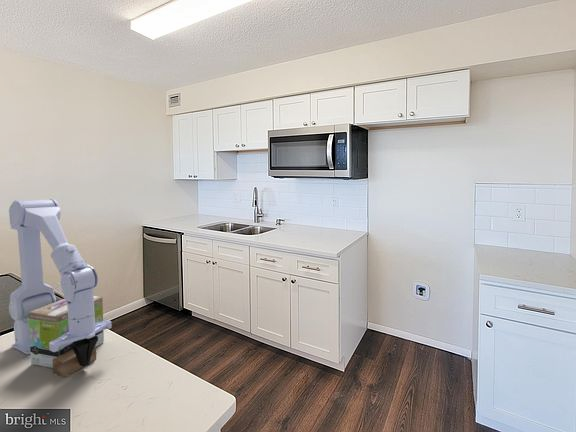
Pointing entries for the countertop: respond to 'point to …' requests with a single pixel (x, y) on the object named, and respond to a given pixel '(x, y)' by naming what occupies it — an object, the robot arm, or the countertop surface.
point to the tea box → (54, 330)
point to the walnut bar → (68, 363)
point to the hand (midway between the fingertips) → (84, 364)
